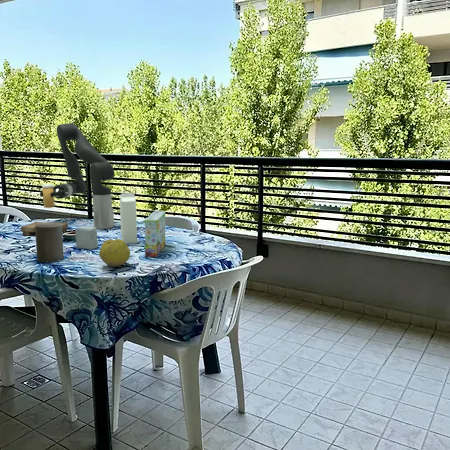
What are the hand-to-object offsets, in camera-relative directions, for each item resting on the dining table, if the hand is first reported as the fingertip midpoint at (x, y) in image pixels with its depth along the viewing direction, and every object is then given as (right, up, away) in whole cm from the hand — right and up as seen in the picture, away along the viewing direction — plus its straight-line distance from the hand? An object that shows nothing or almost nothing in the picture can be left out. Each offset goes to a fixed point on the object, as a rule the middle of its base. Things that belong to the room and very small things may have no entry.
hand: (46, 194), depth 228 cm
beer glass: (0, -6, +3) cm, 7 cm away
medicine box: (+31, -25, -35) cm, 54 cm away
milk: (+47, -23, -25) cm, 58 cm away
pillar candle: (+23, -29, -53) cm, 64 cm away
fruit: (+50, -31, -62) cm, 85 cm away
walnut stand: (+3, -19, -9) cm, 21 cm away
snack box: (+61, -26, -39) cm, 77 cm away
